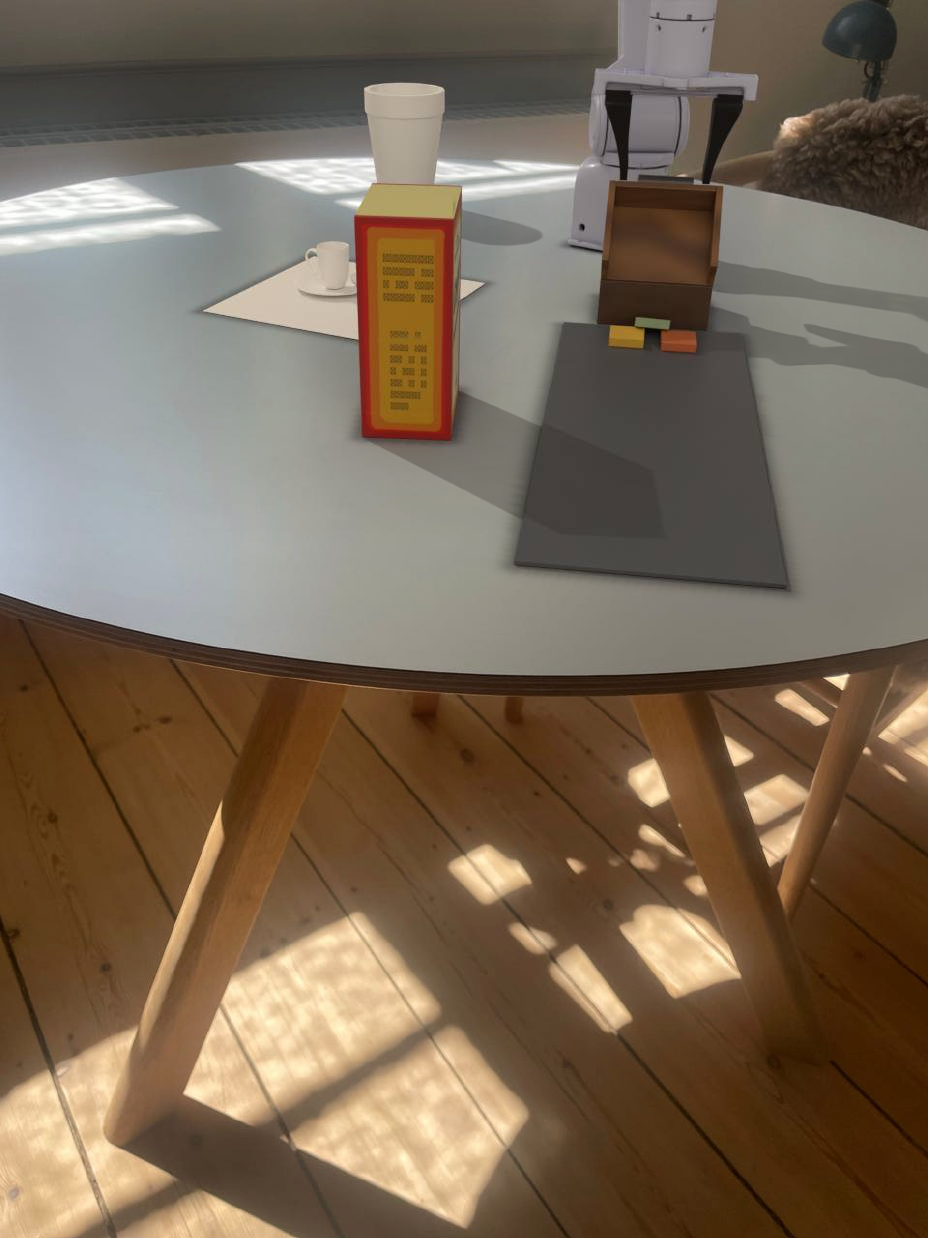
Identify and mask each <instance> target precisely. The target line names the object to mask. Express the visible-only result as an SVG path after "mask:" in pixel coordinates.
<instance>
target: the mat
mask: <svg viewBox="0 0 928 1238" xmlns="http://www.w3.org/2000/svg"><path fill="white" fill-rule="evenodd" d="M611 325H613V326H619V325H617V324H601V323H585V322H584V323H583V322H569V321H563V324H562V329H561V333H560V338H559V342H558V343H559V344H558V347H557V352H556V357H555V361H554V368H553V372H552V377H551V382H550V387H549V392H548V396H547V401H546V405H545V411H544V416H543V420H542V425H541V428H540V429H541V430H540V435H539V438H538V439H539V440H538V445H537V450H536V455H535V459H534V464H533V468H532V474H531V479H530V482H529V486H528V487H529V488H528V492H527V497H526V503H525V507H524V512H523V517H522V522H521V525H520V531H519V535H518V536H519V537H518V541H517V545H516V551H515V555H514V560H513V565H515V566H526V567H536V568H538V567H539V568H549V569H559V570H570V571H571V570H572V571H584V572H596V573H604V574H605V573H606V574H614V575H615V574H616V575H627V576H629V575H630V576H639V577H651V578H661V579H663V578H664V579H673V580H683V581H684V580H686V581H696V582H697V581H698V582H709V583H721V584H730V585H742V586H755V587H765V588H775V589H776V588H777V589H787V586H788V585H787V579H786V574H785V573H786V572H785V567H784V563H783V556H782V552H781V545H780V540H779V535H778V529H777V524H776V518H775V512H774V507H773V501H772V496H771V490H770V484H769V480H768V474H767V473H768V472H767V467H766V463H765V458H764V457H765V456H764V451H763V446H762V440H761V435H760V430H759V424H758V423H759V422H758V418H757V413H756V407H755V401H754V395H753V391H752V385H751V378H750V374H749V369H748V363H747V358H746V351H745V346H744V340H743V334H742V333H741V332H727V331H711V330H710V331H709V330H696V329H680V328H669V330H674V331H691V332H695V334H696V342H697V347H696V352H695V353H691V352H675V351H661V345H660V335H661V330H665V329H656V328H646V327H644V345H643V348H630V347H615V346H609V335H610V326H611ZM628 326H629V327H634V326H632V325H628Z"/></svg>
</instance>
